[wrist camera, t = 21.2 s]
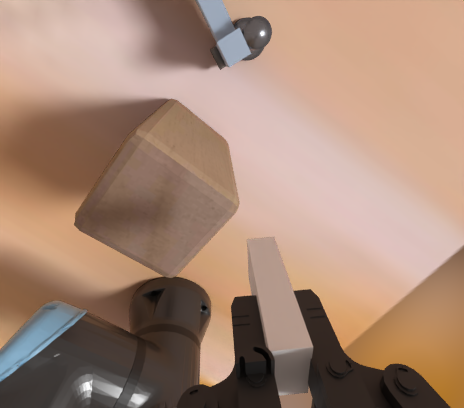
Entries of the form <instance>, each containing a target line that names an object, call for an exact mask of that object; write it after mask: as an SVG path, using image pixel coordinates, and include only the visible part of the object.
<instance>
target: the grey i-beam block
mask: <svg viewBox="0 0 464 408" xmlns="http://www.w3.org/2000/svg"><path fill="white" fill-rule="evenodd" d="M195 1H196V3H197V5H198V7H199V9H200V11H201V13H202V15H203V17H204V19H205V21H206V23H207V25H208V27H209V29H210V31H211V33H212V35H213V37H214V39H215V41H216V43H217V44H216V46H215V47H214V48H212V49H211V50H210V51H211V53H212V55H213V57H214V59H215V61H216V63H217V65H218V67H219V68H220V70H221V69H222V68H224V67H226V66H227V67H230V66H232V65H234V64H235V63H237V62H239V61H240V60H242V59H243V58H245V57H247V56H248V55H250V54H251V52H250V50H249V47H248V45H247V43H246V41H245V39H244V36H243V34H242V32H241V30H240V28H238V29H236V30H235V28H234V26H233V23H232V21H231V19H230V17H229V15H228V12H227V10H226V8H225V6H224V4H223V1H222V0H195Z"/></svg>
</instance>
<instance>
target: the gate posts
mask: <svg viewBox="0 0 464 408" xmlns="http://www.w3.org/2000/svg"><path fill="white" fill-rule="evenodd" d="M233 26H234V28H235V30H236V29H238V28H240V30H241V32H242V34H243V36H244V39H245V41H246V43H247V45H248V47H249V50H250V52H251V54H250V55H248V56H247V57H245V58H243V59H242V60H252V59H254V58H256V57H257V56H259V55H260V53H261V52H262V50H263V49H264V47H265V46H266V45H267V44H268V43H269V41H270V39H271V35H272V29H271V25H270V23H269V22H268V20H267V19H266V18H264V17H262V16H255V17H253V18H242V19H240V20H239V21H237V22H236V23H235V24H234V25H233Z"/></svg>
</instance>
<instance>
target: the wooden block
mask: <svg viewBox="0 0 464 408" xmlns="http://www.w3.org/2000/svg"><path fill="white" fill-rule="evenodd" d="M238 206H239V198H238V193H237V188H236V183H235V178H234V172H233V167H232V162H231V157H230V152H229V146H228V143H227V141H226V140H225V139H224V138H223V137H222V136H220V135H219V134H218V133H217V132H215V131H214V130H213V129H212V128H211V127H209V126H208V125H207V124H206V123H204V122H203V121H202V120H201V119H199V118H198V117H197V116H196V115H195V114H193V113H192V112H191V111H190V110H188V109H187V108H186V107H185V106H184V105H182V104H181V103H180V102H179V101H177V100H174V99H170V100H168V101H167V102H166V103H164V104H163V105H162V106H161V107H160V108H159V109H157V110H156V111H155V112H154V113H153V114H152V115H150V116H149V117H148V118H147V119H146V120H145V121H144V122H142V123H141V124H140V125H139V126H138V127H137V128H135V129H134V130H133V131H132V132H131V133H130V134H128V136H127V137H126V139H125V140H124V142H123V143H122V145H121V146H120V148H119V149H118V151H117V152H116V154H115V155H114V157H113V158H112V160H111V161H110V163H109V164H108V166H107V167H106V169H105V170H104V172H103V173H102V175H101V176H100V178H99V179H98V181H97V182H96V184H95V185H94V187H93V188H92V190H91V191H90V193H89V194H88V196H87V197H86V199H85V200H84V202H83V203H82V205H81V206H80V208H79V209H78V211H77V212H76V215H75V223H74V225H75V226H76V227H77V228H78V229H79V230H80V231H81V232H83V233H85V234H87V235H89V236H91V237H92V238H94V239H96V240H98V241H100V242H102V243H104V244H105V245H107V246H109V247H111V248H113V249H115V250H117V251H118V252H120V253H122V254H124V255H126V256H128V257H129V258H131V259H133V260H135V261H137V262H139V263H141V264H142V265H144V266H146V267H148V268H150V269H152V270H154V271H155V272H157V273H159V274H161V275H163V276H165V277H169V278H173V277H175V276H177V275H178V274H179V273H180V272H181V270H182V269H183V268H184V267H185V266H186V265H187V264H188V263H189V262H190V261H191V260H192V259H193V258H194V257H195V256H196V254H197V253H198V252H199V251H200V250H201V249H202V248H203V247H204V246H205V245H206V244H207V243H208V242H209V241H210V240H211V238H212V237H213V236H214V235H215V234H216V233H217V232H218V231H219V230H220V229H221V228H222V227H223V226H224V225H225V224H226V222H227V221H228V220H229V219H230V218H231V217H232V216H233V215H234V214H235V213H236V212H237V209H238Z"/></svg>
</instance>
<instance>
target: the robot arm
mask: <svg viewBox="0 0 464 408" xmlns="http://www.w3.org/2000/svg"><path fill="white" fill-rule="evenodd" d="M247 247H248V271H249V281H250V287H251V293H252V296H241V297H235V298H234V300H233V303H232V305H231V312H232V325H233V338H234V351H235V365H234V368H233V371H232V372H231V374H230V375H229V376H228V377H227V378H226V379H225V380H223V381H222V382H220V383H218V384H216V385H214V386H212V387H208V386H206V385H203V384H202V385H199V376H200V345H201V342H202V340H203V337H204V335H205V332H206V330H207V327H208V325H209V322H210V318H211V301H210V298H209V296H208V294H207V293H206V292H205V290H204V289H203V288H201V287H200V286H199V285H197V284H196V283H194V282H192V281H189V280H186V279H182V278H176V277H173V278H169V277H164V278H158V279H155V280H152V281H149V282H147V283H145V284H144V285H142V286H141V287H140V288H139V289H138V290H137V291H136V293H135V294H134V296H133V299H132V302H131V305H130V309H129V322H130V332H128V331H126V330H124V329H121V328H119V327H117V326H115V325H113V324H111V323H109V322H107V321H105V320H103V319H101V318H99V317H97V316H95V315H92V314H90V313H88V312H87V311H88V310H86V309H79V308H77V307H75V306H72V305H70V304H67V303H65V302H62V301H51V302H48V303H46V304H44V305H43V306H42V307H40V308H39V309H38V310H37V311H36V312H35V313H34V314H33V315H32V316H31V317H30V318H29V320H28V321H27V322H26V323H25V324H24V325H23V326H22V327H21V328H20V329H19V330H18V331H17V332H16V333H15V334H14V335H13V337H12V338H11V339H10V340H9V341H8V342H7V343H6V344H5V345H4V346H3V347H2V348H1V349H0V408H281V404H280V399H279V396H280V395H289V394H299V393H308V387H309V388H310V391H311V394H312V398H313V399H312V407H311V408H450V406H448V404H447V403H446V402H445V401H444V400H443V399H442V398H441V397H440V396H439V395H438V393H437V392H436V391H435V390H434V389H433V388H432V387H431V386H430V385H429V384H428V383H427V382H426V380H425V379H424V378H423V377H422V376H421V375H419V374H418V373H417V372H416V371H415V370H414V369H412V368H409V367H408V366H406V365H402V364H390V365H389V366H387V367H386V368H385V370H379V369H375V368H371V367H366V366H363V365H360V364H358V363H356V362H354V361H353V360H351V358H349V357H348V356H347V355H346V354H345V353H344V351H343V349H342V348H341V346H340V343H339V341H338V339H337V337H336V335H335V332H334V330H333V328H332V326H331V324H330V321H329V319H328V317H327V315H326V313H325V310H324V309H323V306H322V304H321V301H320V299H319V297H318V296H317V295H316V294H315V293H314V292H313V291H312V290H311V289H309V290H298V291H293V288H292V286H291V283H290V280H289V277H288V274H287V271H286V269H285V266H284V263H283V260H282V257H281V255H280V252H279V249H278V246H277V243H276V240H275V238H274V237H267V238H255V239H247Z"/></svg>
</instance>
